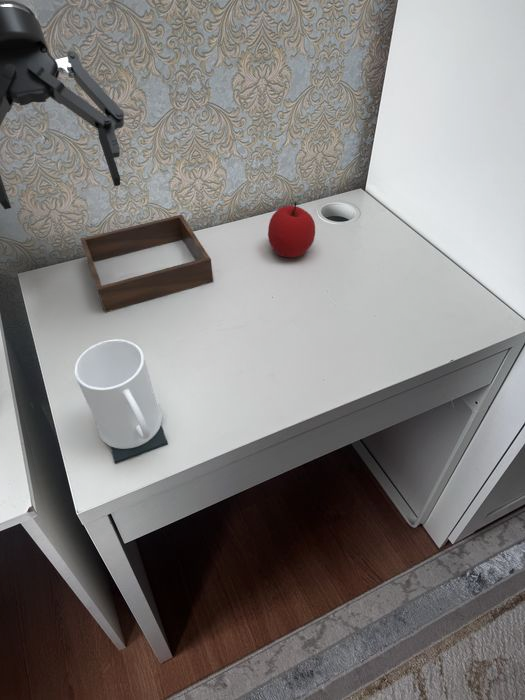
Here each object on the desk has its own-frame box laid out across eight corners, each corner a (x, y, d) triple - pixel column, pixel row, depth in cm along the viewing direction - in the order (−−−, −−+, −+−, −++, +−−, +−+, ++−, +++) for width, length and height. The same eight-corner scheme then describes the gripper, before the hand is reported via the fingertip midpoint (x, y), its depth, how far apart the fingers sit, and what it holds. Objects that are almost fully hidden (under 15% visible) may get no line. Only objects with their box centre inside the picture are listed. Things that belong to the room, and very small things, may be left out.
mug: (181, 449, 62) (167, 391, 53) (118, 480, 59) (91, 423, 50) (149, 388, 69) (131, 328, 60) (90, 413, 66) (63, 353, 58)
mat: (115, 464, 61) (114, 462, 61) (104, 423, 66) (103, 421, 65) (168, 444, 63) (167, 442, 63) (153, 405, 68) (153, 403, 67)
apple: (260, 242, 96) (260, 196, 88) (302, 233, 98) (305, 187, 90) (277, 268, 90) (278, 221, 82) (321, 258, 92) (326, 211, 84)
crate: (87, 261, 92) (80, 238, 88) (185, 236, 97) (181, 214, 94) (105, 312, 82) (97, 289, 78) (213, 281, 87) (211, 259, 83)
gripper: (109, 32, 66) (157, 183, 67) (-94, 57, 59) (-36, 224, 60) (108, -9, 59) (162, 161, 60) (-124, 14, 52) (-57, 205, 53)
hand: (63, 193), depth 60 cm, fingers open, 13 cm apart
